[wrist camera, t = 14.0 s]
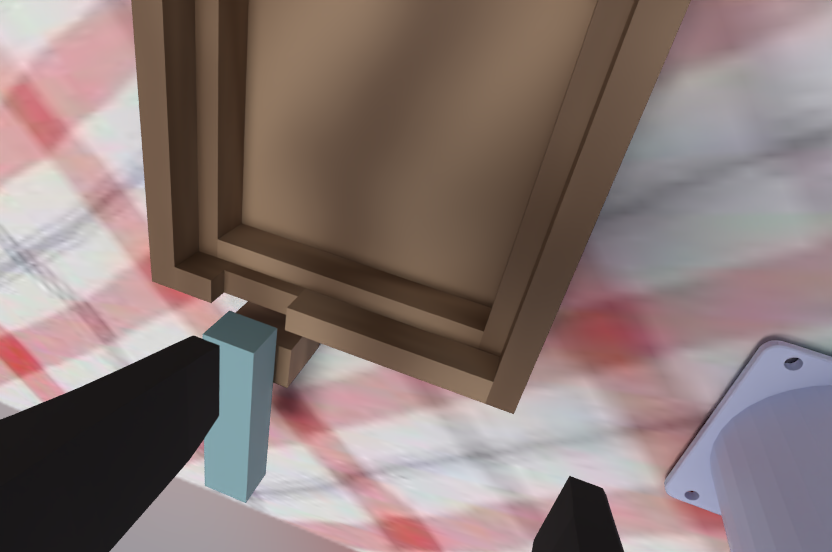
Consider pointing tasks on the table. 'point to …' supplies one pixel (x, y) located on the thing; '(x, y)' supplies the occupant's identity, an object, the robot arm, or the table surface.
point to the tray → (390, 167)
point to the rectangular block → (240, 405)
